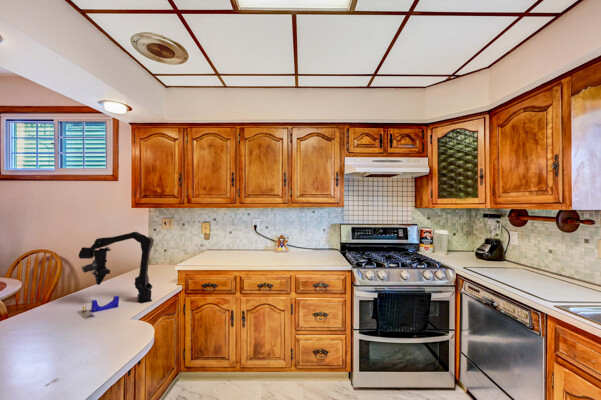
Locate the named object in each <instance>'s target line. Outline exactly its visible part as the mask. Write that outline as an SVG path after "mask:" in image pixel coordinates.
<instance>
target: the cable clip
mask: <svg viewBox="0 0 601 400" xmlns="http://www.w3.org/2000/svg"><path fill="white" fill-rule="evenodd" d="M119 300H120V296H118V295H115V296H113V299H112V301H109V302H108V303H107V304H105V305H102V306H101V305H99V304H98V300H97V299H93V300H91V308H90V312H91V313H97V312H103V311H106V310H109V309H110V310H111V309H116V308H119V302H120V301H119Z"/></svg>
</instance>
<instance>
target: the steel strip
mask: <svg viewBox="0 0 601 400" xmlns="http://www.w3.org/2000/svg"><path fill="white" fill-rule="evenodd" d="M76 312H77V313H78V314H79V315H80V316H81V317H82V318H83V319H84V320H87V319H91V318H95V317H96V315H95V314H94V313H93V312H91V311H90V310H89V309H87V306H86V305H83V306H82V309H81V310H77V311H76Z"/></svg>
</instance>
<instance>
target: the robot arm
mask: <svg viewBox="0 0 601 400" xmlns="http://www.w3.org/2000/svg"><path fill="white" fill-rule="evenodd" d="M130 239H134V240H135V241H136V242H138V243H139V244H140V249H141V257H140V266H139V272H138V274H139V275H138V276H136V277H135V278H134V288H135V289H137V291H138V294H137V298H136V301H137V302H138V303H140V304H145V303H148V302H152V301H153V300H152V288H153V284H151V283H150V282H149V281H150V280H149V279H150V278H149V275H148V273H149V272H148V270H149V265H150V255H151V251H152V248H153V246H154V243H155V240H154V238H153V237H152V236H147V235H144V234H143V233H140V232H138V231H133V232H129V233H125V234H119V235H117V236H112V237H110V236H109V237H100V238H99V237H98V238H96V239H95V240H94V241H93V242H94V243H92V245H91V246H90V247H87V246H82V247H81V249H80V251H79V253H78V258H79V259H80V260H84V259H85V260H86V259H87V260H88V259H90V260H91V259H93V258H94V259H93V261H92V262H91V263H87V264H86V265H83V266H81V271H82V272H83V273H84V274H86V273H88V272H90V273H91V274H92V275H93V276H94V279H95V283H96V285H98V286H100V285H101V283H102V282H103V280H104V278H105V277H106V275H110V274H111V270H110V269H109V268H107V266H106V264H107V262H108V260H107V256H108V255H107V254H108V252H110V251H111V250H112V249H111V248H110V247H108V246H111V245H113V244H115V243H119V242H124V241H127V240H130Z"/></svg>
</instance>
